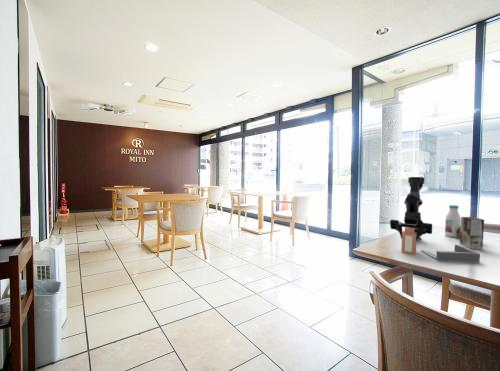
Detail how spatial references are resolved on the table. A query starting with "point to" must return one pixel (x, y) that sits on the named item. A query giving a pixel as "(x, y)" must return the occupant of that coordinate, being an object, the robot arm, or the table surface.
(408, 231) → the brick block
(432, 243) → the table surface
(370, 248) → the table surface
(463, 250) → the tray
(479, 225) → the coffee box
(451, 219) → the milk bottle
